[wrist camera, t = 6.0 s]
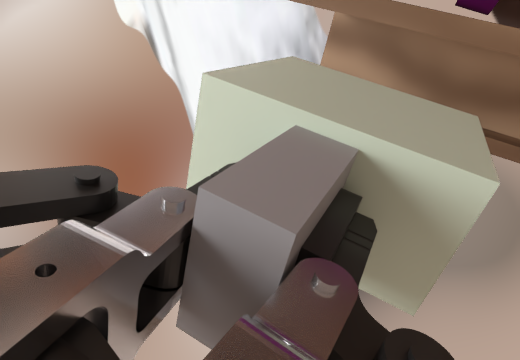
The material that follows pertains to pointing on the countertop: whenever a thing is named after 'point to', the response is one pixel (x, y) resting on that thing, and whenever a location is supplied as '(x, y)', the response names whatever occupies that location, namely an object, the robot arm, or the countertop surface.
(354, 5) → the wooden tablet stand
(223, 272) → the tab block
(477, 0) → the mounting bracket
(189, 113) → the countertop surface
